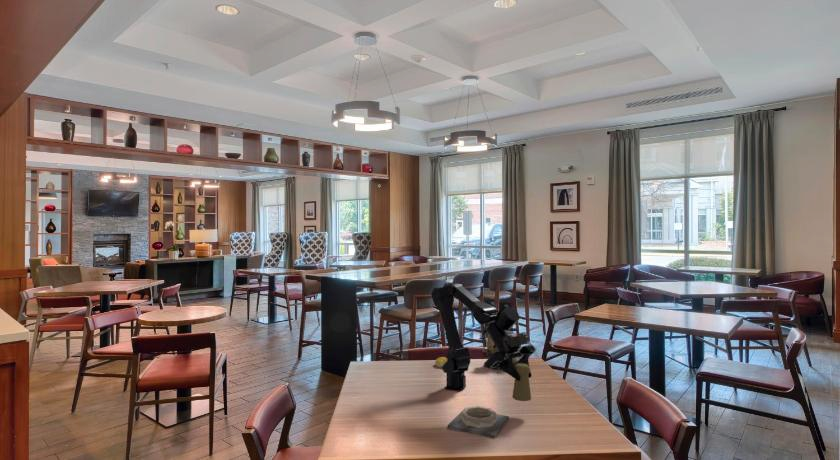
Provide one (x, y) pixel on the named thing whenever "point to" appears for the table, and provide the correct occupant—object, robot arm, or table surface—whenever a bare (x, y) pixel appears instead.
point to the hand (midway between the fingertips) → (525, 378)
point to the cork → (522, 383)
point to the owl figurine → (491, 350)
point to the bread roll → (440, 362)
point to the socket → (479, 421)
